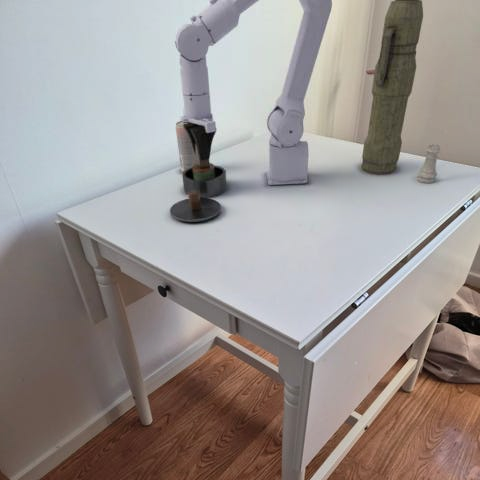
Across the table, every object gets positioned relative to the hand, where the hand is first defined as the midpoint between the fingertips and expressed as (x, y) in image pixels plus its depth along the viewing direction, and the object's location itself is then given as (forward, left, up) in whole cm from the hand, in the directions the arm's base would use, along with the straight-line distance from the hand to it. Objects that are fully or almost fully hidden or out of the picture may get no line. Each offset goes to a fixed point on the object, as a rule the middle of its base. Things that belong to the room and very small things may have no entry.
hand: (202, 157), depth 99 cm
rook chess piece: (-54, +1, -8) cm, 54 cm away
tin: (0, 0, -8) cm, 8 cm away
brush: (0, 0, -5) cm, 5 cm away
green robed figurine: (-45, -8, -8) cm, 46 cm away
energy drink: (+4, -13, -8) cm, 16 cm away
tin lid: (+1, +13, -7) cm, 15 cm away
